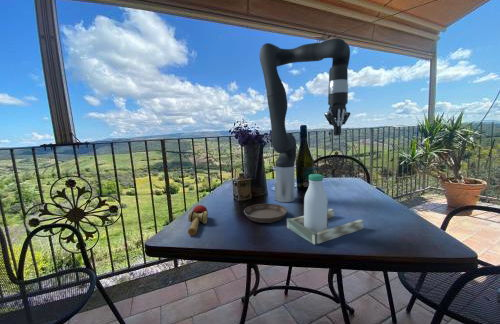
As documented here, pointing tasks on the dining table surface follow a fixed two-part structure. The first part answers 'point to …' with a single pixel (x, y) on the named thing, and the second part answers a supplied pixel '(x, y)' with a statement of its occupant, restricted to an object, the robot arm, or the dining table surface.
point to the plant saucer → (265, 213)
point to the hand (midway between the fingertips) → (337, 135)
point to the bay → (325, 235)
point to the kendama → (197, 218)
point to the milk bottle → (316, 205)
